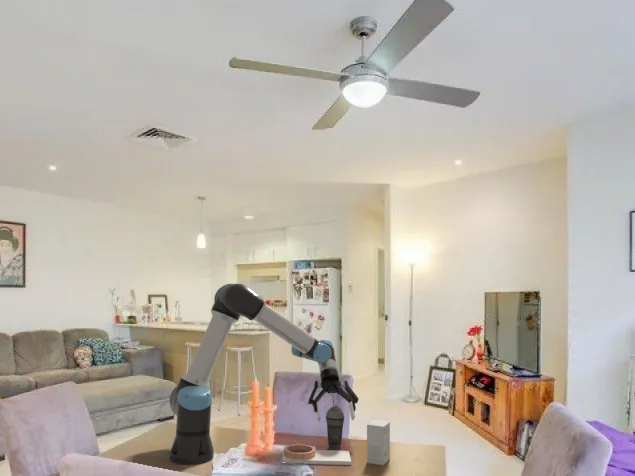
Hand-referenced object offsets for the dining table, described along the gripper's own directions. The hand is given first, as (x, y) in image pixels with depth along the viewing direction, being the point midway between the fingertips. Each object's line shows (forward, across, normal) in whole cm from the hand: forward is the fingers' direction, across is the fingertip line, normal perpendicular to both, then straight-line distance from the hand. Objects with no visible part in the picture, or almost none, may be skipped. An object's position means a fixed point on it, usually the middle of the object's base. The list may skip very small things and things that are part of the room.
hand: (336, 418), depth 188 cm
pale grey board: (+16, +10, +1) cm, 19 cm away
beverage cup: (+8, +1, -7) cm, 11 cm away
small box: (+20, -12, +4) cm, 23 cm away
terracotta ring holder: (+14, +16, +1) cm, 21 cm away
